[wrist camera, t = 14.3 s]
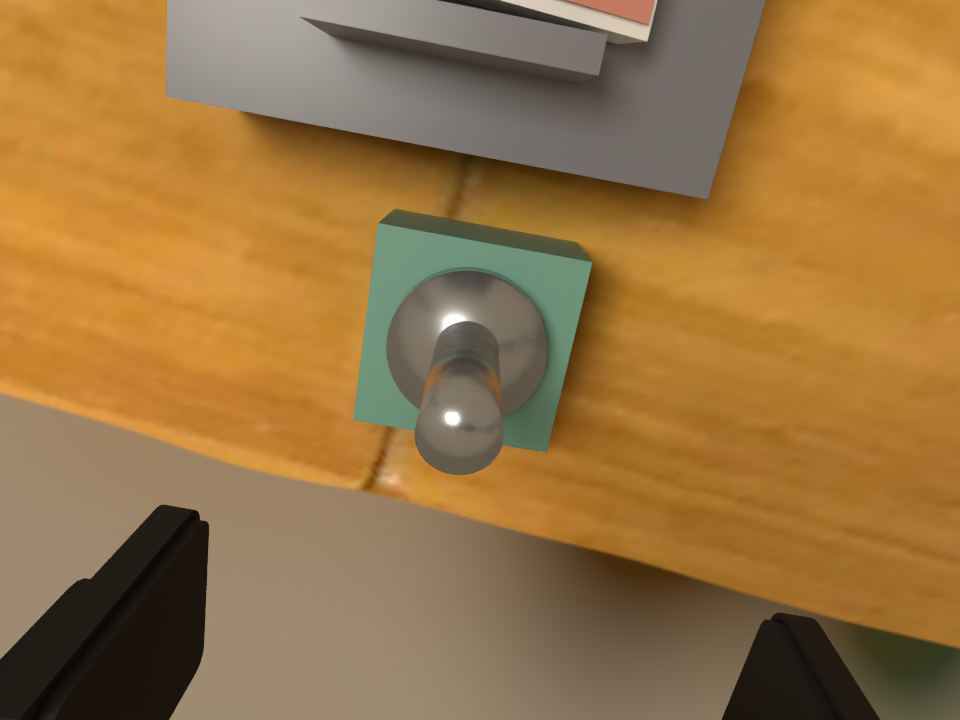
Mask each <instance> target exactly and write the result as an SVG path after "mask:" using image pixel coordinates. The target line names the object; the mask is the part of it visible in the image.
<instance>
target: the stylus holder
mask: <svg viewBox="0 0 960 720" xmlns="http://www.w3.org/2000/svg"><path fill="white" fill-rule="evenodd" d="M591 266H592V261H591V260H590V259H589V257H588V256H587V255H586V254H585V252H584V251H583V250H582V249H581V247H580V246H579V245H578V244H577V242H571V241H566V240H560V239H555V238H550V237H544V236H539V235H533V234H528V233H522V232H517V231H512V230H506V229H501V228H495V227H490V226H484V225H479V224H474V223H468V222H463V221H457V220H452V219H446V218H441V217H436V216H430V215H425V214H419V213H414V212H408V211H403V210H398V209H394V210H393V211H392V212H391V213H389V214H388V215H387V216H386V217H385V218H383V219H382V220H381V221H380V222H379V223H378V227H377V235H376V243H375V251H374V259H373V267H372V275H371V283H370V291H369V299H368V307H367V315H366V323H365V331H364V339H363V347H362V355H361V363H360V371H359V379H358V386H357V394H356V402H355V410H354V418H353V420H356V421H362V422H368V423H374V424H380V425H386V426H392V427H398V428H404V429H410V430H415V427H416V422H417V418H418V414H419V409H417V408H416V407H415V406H414V405H413V404H411V403H410V402H409V401H408V400H407V399H406V398H405V396H404V395H403V394H402V393H401V391H400V390H399V388H398V387H397V385H396V384H395V382H394V380H393V378H392V375H391V372H390V369H389V366H388V361H387V353H386V343H387V335H388V330H389V326H390V324H391V321H392V318H393V316H394V314H395V312H396V310H397V309H398V307H399V305H400V303H401V301H402V300H403V299H404V297H405V296H406V295H407V293H408V292H409V291H410V290H411V289H412V288H413V287H414V286H416V285H417V284H418V283H419V282H421V281H422V280H424V279H425V278H427V277H429V276H430V275H433V274H435V273H437V272H440V271H443V270H447V269H451V268H458V267H475V268H483V269H487V270H491V271H493V272H496V273H499V274H501V275H503V276H505V277H507V278H508V279H510V280H512V281H513V282H514V283H516V284H517V285H518V286H519V287H520V288H522V289H523V290H524V291H525V292H526V293H527V295H528V296H529V297H530V299H531V300H532V301H533V303H534V305H535V306H536V308H537V310H538V312H539V315H540V317H541V320H542V323H543V327H544V330H545V334H546V340H547V359H546V365H545V369H544V372H543V375H542V378H541V380H540V382H539V384H538V386H537V387H536V389H535V390H534V392H533V393H532V395H531V396H530V397H529V398H528V399H527V400H526V401H525V402H524V403H523V404H522V405H521V406H520V407H519V408H517V409H516V410H514V411H513V412H512V413H510V414H508V415H506V416H504V417H502V418H503V443H502V445H506V446H512V447H518V448H523V449H529V450H535V451H541V452H547V449H548V445H549V441H550V436H551V432H552V428H553V424H554V420H555V416H556V412H557V407H558V403H559V399H560V395H561V391H562V387H563V383H564V378H565V374H566V370H567V366H568V362H569V358H570V353H571V349H572V345H573V341H574V337H575V333H576V329H577V324H578V320H579V316H580V312H581V308H582V304H583V300H584V295H585V291H586V287H587V283H588V279H589V275H590V271H591Z"/></svg>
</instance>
